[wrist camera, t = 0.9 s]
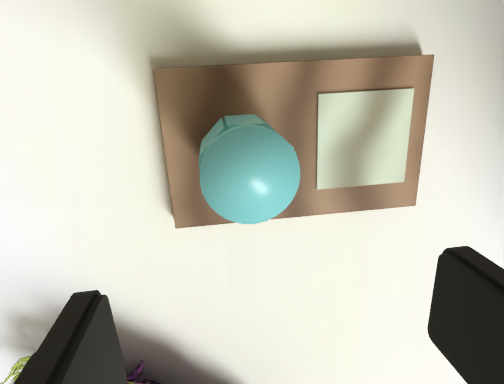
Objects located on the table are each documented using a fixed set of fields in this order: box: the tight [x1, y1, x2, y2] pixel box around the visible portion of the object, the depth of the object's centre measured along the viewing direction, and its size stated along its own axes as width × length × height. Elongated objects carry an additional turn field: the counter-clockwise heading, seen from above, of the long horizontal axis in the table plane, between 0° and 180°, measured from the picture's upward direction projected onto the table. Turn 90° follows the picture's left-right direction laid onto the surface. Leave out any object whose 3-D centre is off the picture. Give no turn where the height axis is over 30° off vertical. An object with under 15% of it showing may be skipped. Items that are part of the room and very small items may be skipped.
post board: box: [153, 55, 434, 228], centre depth 25 cm, size 22×13×8 cm, turn 93°
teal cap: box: [198, 114, 300, 224], centre depth 22 cm, size 6×6×6 cm
